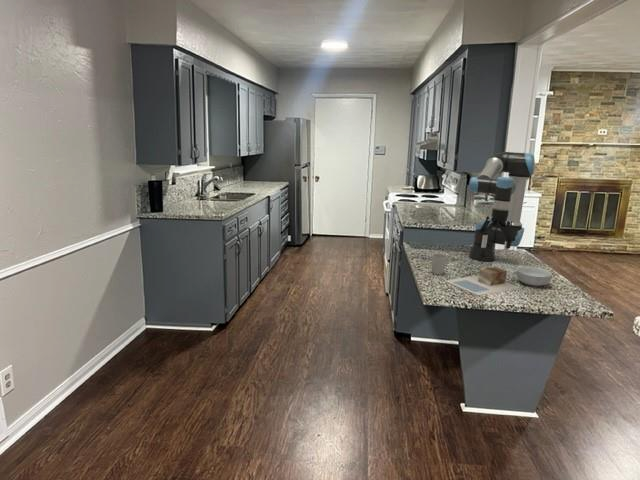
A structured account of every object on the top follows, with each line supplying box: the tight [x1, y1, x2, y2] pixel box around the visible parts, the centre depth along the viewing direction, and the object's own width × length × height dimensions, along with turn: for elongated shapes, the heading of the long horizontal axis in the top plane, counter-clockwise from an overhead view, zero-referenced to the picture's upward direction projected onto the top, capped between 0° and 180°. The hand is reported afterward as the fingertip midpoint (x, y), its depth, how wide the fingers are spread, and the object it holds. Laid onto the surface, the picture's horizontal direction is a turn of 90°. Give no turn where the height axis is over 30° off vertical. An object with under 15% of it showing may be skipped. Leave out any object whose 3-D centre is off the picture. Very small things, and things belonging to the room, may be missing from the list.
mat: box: [443, 274, 520, 297], centre depth 225 cm, size 30×22×1 cm
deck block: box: [478, 266, 508, 286], centre depth 228 cm, size 12×7×6 cm, turn 120°
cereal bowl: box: [515, 266, 553, 287], centre depth 230 cm, size 17×17×7 cm
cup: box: [431, 253, 449, 276], centre depth 238 cm, size 8×8×10 cm
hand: (494, 250), depth 225 cm, fingers open, 13 cm apart
